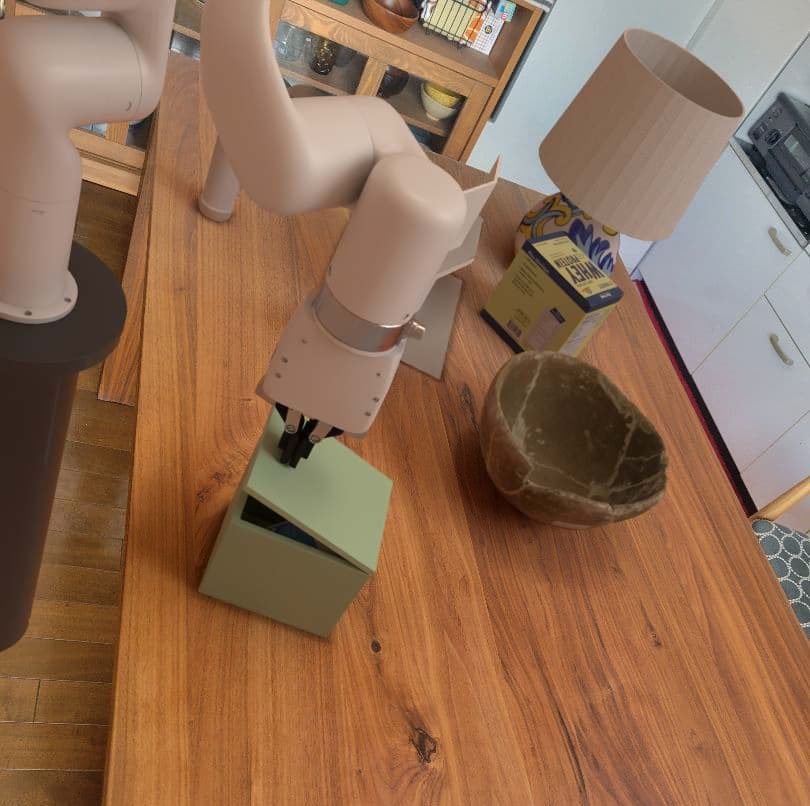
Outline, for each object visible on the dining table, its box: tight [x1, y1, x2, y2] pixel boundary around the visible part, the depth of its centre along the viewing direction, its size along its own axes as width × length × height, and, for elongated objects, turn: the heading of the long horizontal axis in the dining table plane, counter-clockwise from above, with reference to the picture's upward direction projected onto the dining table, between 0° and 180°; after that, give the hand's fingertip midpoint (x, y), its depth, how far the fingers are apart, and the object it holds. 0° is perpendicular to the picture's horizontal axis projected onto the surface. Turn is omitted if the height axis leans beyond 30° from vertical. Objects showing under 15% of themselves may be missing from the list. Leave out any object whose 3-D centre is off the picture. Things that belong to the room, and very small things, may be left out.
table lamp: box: [514, 27, 746, 278], centre depth 146 cm, size 27×27×40 cm
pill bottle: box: [265, 521, 339, 557], centre depth 92 cm, size 6×5×10 cm
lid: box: [242, 404, 394, 576], centre depth 84 cm, size 16×13×1 cm
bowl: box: [479, 350, 670, 531], centre depth 117 cm, size 28×27×15 cm
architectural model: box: [400, 153, 504, 381], centre depth 127 cm, size 28×21×23 cm
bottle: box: [198, 134, 241, 223], centre depth 120 cm, size 5×5×25 cm
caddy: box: [197, 433, 372, 639], centre depth 91 cm, size 15×13×13 cm
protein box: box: [479, 231, 625, 358], centre depth 139 cm, size 10×16×16 cm
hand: (290, 455), depth 82 cm, fingers closed
